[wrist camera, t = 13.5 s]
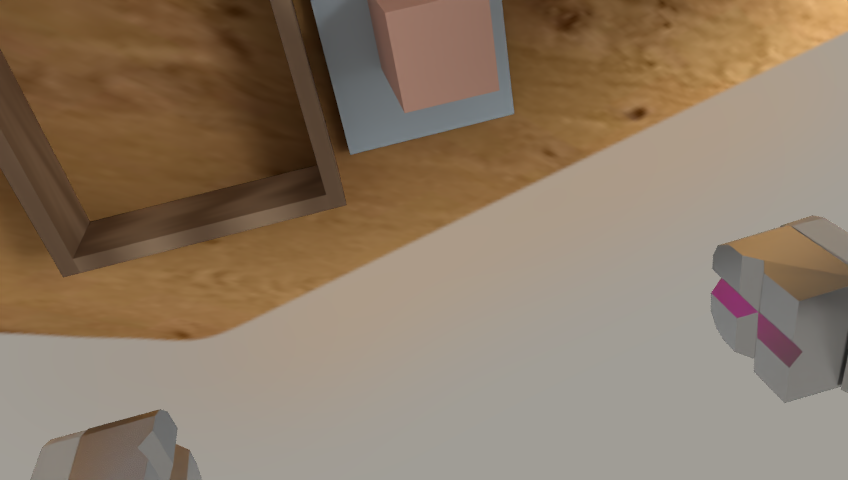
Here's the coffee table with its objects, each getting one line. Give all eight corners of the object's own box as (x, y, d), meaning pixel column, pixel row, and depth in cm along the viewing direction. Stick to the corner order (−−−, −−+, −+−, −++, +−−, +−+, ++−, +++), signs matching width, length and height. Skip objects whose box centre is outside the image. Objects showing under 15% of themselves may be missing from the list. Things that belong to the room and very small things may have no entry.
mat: (481, -148, 36) (485, -147, 36) (510, 109, 44) (514, 113, 44) (283, -105, 36) (283, -104, 35) (348, 150, 44) (350, 154, 43)
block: (448, -37, 38) (488, -11, 32) (460, 49, 41) (499, 90, 34) (363, -18, 38) (384, 12, 31) (381, 68, 40) (404, 113, 34)
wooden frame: (256, -133, 35) (255, -130, 31) (339, 174, 44) (346, 205, 40) (-80, -61, 33) (-125, -49, 30) (81, 239, 43) (63, 277, 39)
